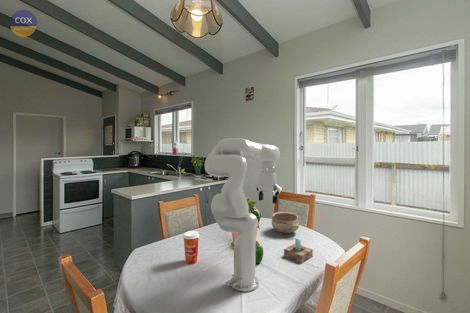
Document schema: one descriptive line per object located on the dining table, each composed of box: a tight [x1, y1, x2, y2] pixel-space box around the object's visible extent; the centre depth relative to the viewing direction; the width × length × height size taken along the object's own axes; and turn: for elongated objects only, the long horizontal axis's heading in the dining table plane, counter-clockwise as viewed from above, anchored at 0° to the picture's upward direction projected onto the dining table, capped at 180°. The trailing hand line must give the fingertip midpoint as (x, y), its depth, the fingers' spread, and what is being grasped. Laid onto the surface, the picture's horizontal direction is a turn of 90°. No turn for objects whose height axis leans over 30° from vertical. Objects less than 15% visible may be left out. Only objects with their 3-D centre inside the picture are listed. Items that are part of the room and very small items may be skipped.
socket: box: [283, 243, 314, 264], centre depth 131 cm, size 11×11×4 cm
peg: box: [294, 236, 302, 252], centre depth 131 cm, size 3×3×10 cm
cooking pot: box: [271, 211, 300, 235], centre depth 167 cm, size 25×19×12 cm
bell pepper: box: [255, 242, 264, 265], centre depth 125 cm, size 8×8×10 cm
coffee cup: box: [182, 230, 200, 265], centre depth 125 cm, size 8×8×15 cm
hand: (267, 201), depth 131 cm, fingers open, 9 cm apart
